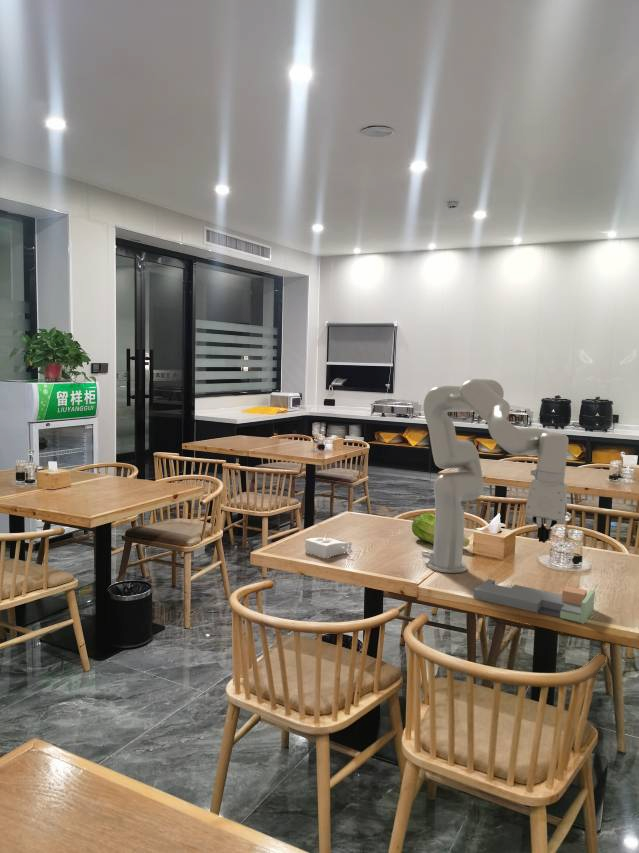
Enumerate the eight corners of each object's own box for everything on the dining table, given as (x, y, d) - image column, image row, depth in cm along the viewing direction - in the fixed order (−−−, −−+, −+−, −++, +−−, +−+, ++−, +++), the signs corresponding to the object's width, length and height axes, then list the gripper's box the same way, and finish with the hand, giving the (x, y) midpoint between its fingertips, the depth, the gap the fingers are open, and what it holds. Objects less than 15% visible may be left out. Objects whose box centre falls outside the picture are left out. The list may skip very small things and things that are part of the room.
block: (561, 601, 176) (562, 590, 176) (565, 596, 181) (566, 586, 181) (583, 605, 173) (584, 594, 173) (586, 600, 178) (587, 590, 178)
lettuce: (453, 542, 224) (473, 518, 230) (402, 523, 243) (422, 501, 248) (462, 565, 230) (482, 541, 236) (412, 545, 249) (432, 523, 254)
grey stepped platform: (472, 597, 183) (474, 579, 183) (488, 585, 194) (489, 568, 194) (583, 623, 167) (585, 603, 166) (593, 609, 178) (595, 589, 177)
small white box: (365, 562, 223) (334, 563, 211) (324, 549, 237) (293, 549, 225) (369, 539, 223) (338, 539, 211) (327, 528, 237) (296, 527, 225)
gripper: (519, 474, 178) (512, 538, 180) (575, 483, 170) (567, 550, 172) (526, 471, 184) (519, 532, 186) (581, 479, 176) (573, 544, 178)
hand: (542, 541), depth 179 cm, fingers closed
